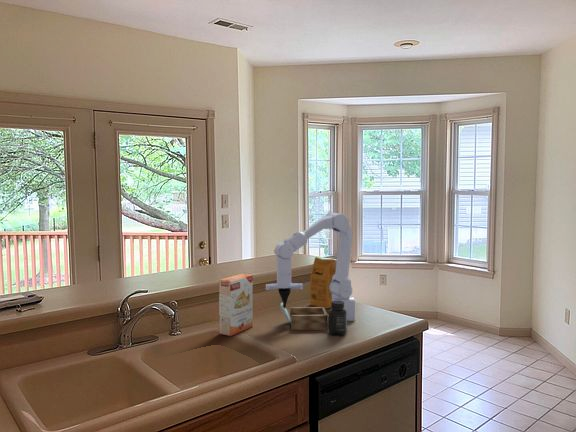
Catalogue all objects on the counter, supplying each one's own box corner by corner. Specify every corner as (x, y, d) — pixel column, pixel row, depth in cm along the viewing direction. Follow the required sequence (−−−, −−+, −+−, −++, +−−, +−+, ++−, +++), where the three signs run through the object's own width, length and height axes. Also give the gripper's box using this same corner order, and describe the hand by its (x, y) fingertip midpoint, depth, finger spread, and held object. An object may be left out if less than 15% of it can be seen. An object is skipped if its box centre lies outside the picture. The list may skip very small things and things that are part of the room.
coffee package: (320, 301, 228) (320, 255, 226) (340, 306, 219) (340, 258, 217) (305, 305, 221) (305, 257, 219) (326, 310, 212) (326, 261, 210)
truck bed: (324, 320, 197) (324, 307, 197) (327, 329, 185) (327, 315, 185) (290, 320, 197) (290, 307, 196) (291, 329, 185) (291, 315, 184)
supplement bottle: (348, 332, 182) (349, 301, 181) (343, 337, 176) (343, 305, 175) (331, 329, 185) (331, 299, 184) (325, 335, 178) (325, 303, 177)
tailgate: (289, 315, 195) (282, 302, 195) (290, 322, 186) (283, 308, 185) (287, 317, 195) (280, 303, 195) (288, 323, 186) (281, 309, 185)
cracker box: (231, 337, 176) (230, 281, 175) (218, 334, 180) (217, 279, 178) (253, 327, 188) (253, 274, 187) (241, 324, 192) (241, 272, 190)
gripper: (265, 275, 185) (266, 310, 186) (303, 275, 185) (303, 309, 186) (265, 272, 192) (266, 305, 193) (301, 271, 192) (302, 304, 193)
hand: (284, 307), depth 190 cm, fingers closed, pressing on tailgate
